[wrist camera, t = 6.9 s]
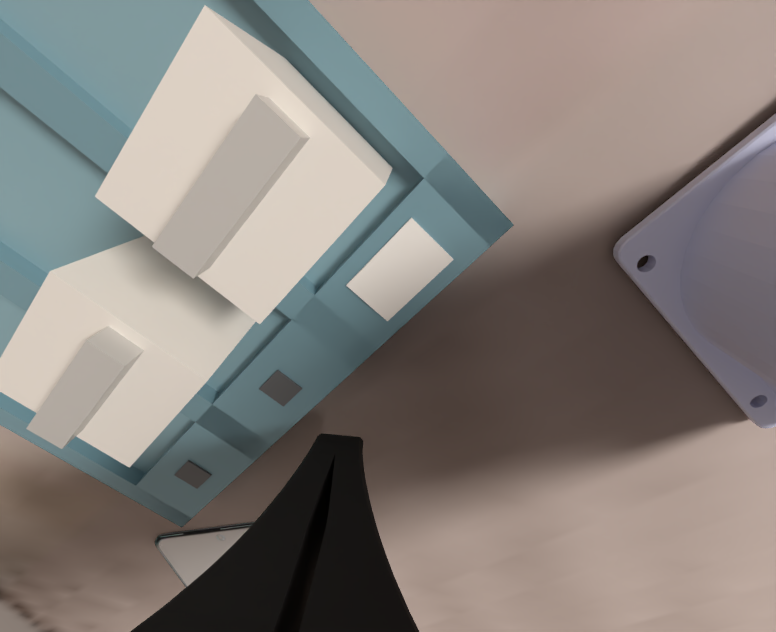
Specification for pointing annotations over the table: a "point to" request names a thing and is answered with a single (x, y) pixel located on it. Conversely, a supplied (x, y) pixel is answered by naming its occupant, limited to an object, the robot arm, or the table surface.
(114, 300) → the tab
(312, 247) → the tab
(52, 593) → the table surface
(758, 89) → the table surface
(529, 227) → the table surface
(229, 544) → the smartphone
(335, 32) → the switch board
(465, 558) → the table surface
